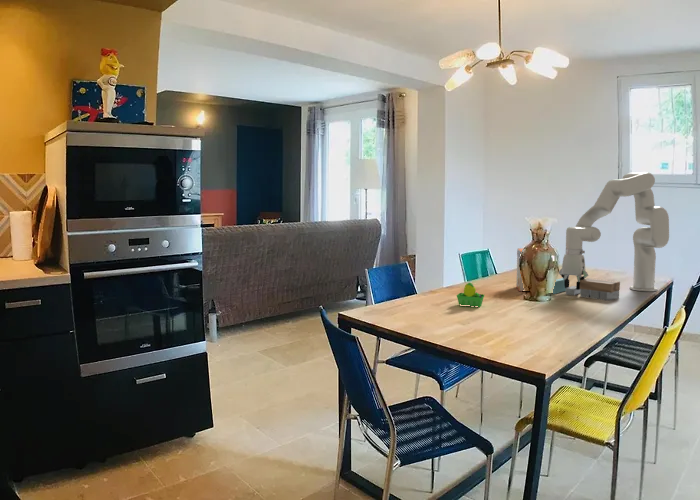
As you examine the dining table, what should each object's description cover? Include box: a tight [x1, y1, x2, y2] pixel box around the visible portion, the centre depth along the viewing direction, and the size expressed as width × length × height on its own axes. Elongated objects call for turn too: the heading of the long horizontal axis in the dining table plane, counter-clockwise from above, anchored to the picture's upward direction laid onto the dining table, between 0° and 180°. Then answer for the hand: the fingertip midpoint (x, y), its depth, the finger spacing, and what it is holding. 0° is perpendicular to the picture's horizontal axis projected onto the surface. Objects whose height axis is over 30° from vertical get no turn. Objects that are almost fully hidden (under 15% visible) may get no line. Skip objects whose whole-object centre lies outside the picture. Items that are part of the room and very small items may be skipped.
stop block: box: [552, 277, 566, 295], centre depth 275 cm, size 14×3×6 cm, turn 132°
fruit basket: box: [456, 282, 485, 308], centre depth 245 cm, size 11×9×11 cm
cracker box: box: [515, 247, 524, 292], centre depth 282 cm, size 14×6×21 cm, turn 168°
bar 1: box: [565, 285, 581, 296], centre depth 269 cm, size 8×4×3 cm, turn 135°
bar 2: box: [579, 289, 591, 299], centre depth 264 cm, size 9×4×4 cm, turn 137°
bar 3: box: [590, 290, 600, 300], centre depth 260 cm, size 9×4×4 cm, turn 131°
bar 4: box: [598, 290, 620, 301], centre depth 256 cm, size 9×4×4 cm, turn 119°
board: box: [580, 277, 621, 293], centre depth 259 cm, size 9×15×4 cm, turn 41°
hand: (572, 288), depth 269 cm, fingers open, 5 cm apart
